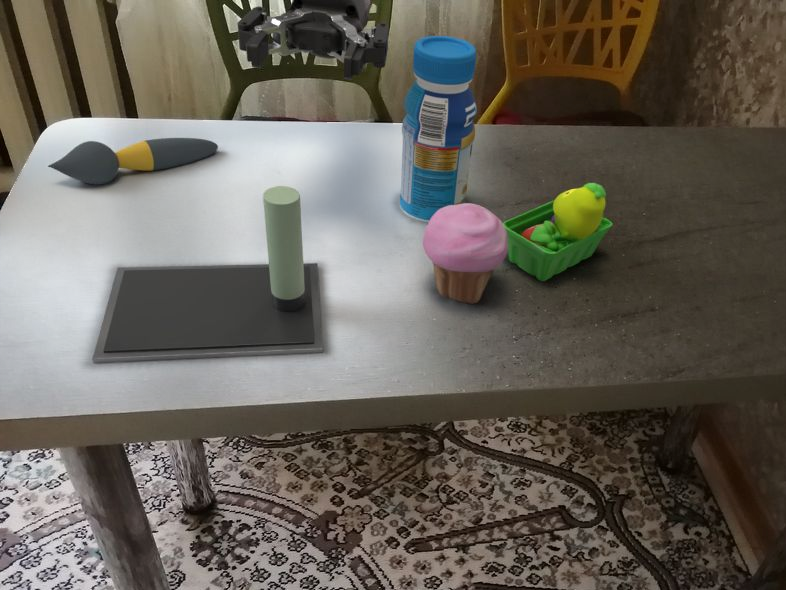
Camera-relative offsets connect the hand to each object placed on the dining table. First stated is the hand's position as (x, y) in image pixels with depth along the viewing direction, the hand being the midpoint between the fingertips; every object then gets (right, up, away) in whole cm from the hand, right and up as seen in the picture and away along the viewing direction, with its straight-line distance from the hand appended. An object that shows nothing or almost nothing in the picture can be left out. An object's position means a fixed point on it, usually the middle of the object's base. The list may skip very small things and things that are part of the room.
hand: (301, 63), depth 68 cm
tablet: (-9, -23, +5) cm, 25 cm away
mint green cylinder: (-2, -22, +6) cm, 22 cm away
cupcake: (+14, -20, +12) cm, 28 cm away
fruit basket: (+25, -16, +18) cm, 35 cm away
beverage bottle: (+11, -9, +24) cm, 28 cm away
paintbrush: (-25, -4, +24) cm, 35 cm away
